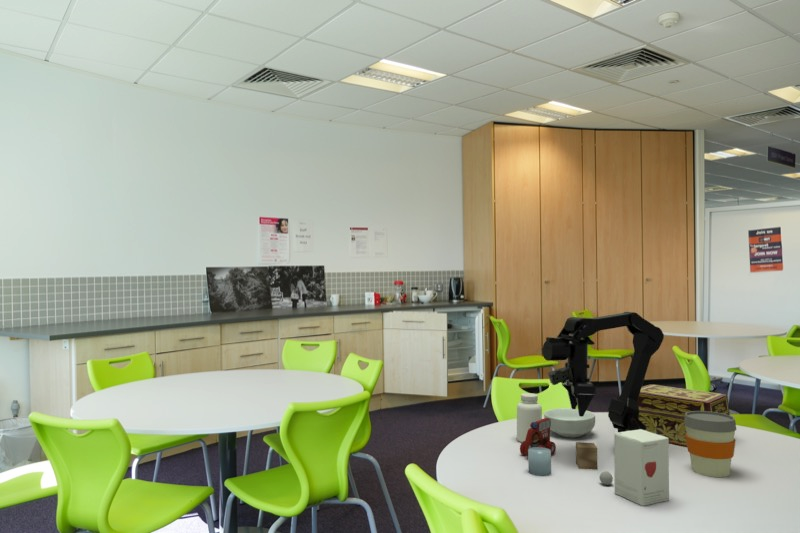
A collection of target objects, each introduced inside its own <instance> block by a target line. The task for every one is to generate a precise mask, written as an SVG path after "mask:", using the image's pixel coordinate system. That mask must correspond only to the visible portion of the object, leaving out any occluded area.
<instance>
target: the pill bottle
mask: <svg viewBox="0 0 800 533" xmlns="http://www.w3.org/2000/svg"><path fill="white" fill-rule="evenodd" d="M542 413H543V408H542V405H541V404H540V403H539V402H538V394H536V393H531V392H530V393H529V392H523V393H521V394H520V402H518V403H517V405H516V440H517V441H518V442H520V443H522V442H523V441H525V439H526V435H527V432H528V429H530V428H531V427H530V424H531V423H532V422H536V421H539V420H541V419H543V414H542Z"/></svg>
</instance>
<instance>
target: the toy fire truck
mask: <svg viewBox="0 0 800 533" xmlns="http://www.w3.org/2000/svg"><path fill="white" fill-rule="evenodd" d="M530 427H531V428H530V429H528V432H527V435H526V439H525V441H523V442H520V445H519V452H520V454H521V455H523V456H528V449H529V448H532V447H543V448H547V449H550V450H551V457H552V456H554V455H555V453H556V450H557V446H556V443H555V441H551V430H550V427H551V419H550V418H544V417H543V418H542V419H541V420H539V421H536V422H532V423H531V424H530Z"/></svg>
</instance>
